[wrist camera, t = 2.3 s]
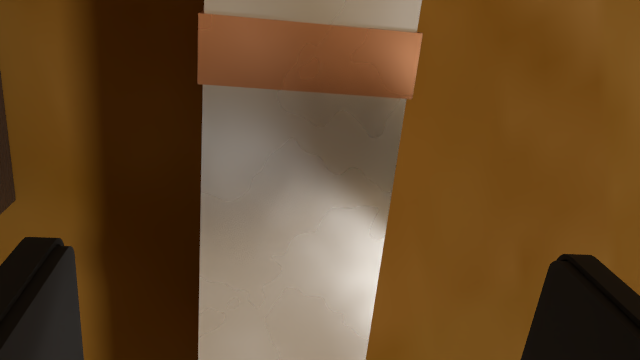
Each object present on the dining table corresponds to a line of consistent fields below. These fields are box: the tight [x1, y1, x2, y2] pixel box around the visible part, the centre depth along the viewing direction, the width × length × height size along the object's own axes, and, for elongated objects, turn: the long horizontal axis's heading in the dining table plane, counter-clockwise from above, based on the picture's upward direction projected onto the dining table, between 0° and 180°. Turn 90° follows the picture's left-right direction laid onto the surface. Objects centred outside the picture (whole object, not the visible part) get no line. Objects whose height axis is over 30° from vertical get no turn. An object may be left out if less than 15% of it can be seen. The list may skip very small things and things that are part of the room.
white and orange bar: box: [197, 0, 423, 360], centre depth 15 cm, size 24×5×5 cm, turn 175°
